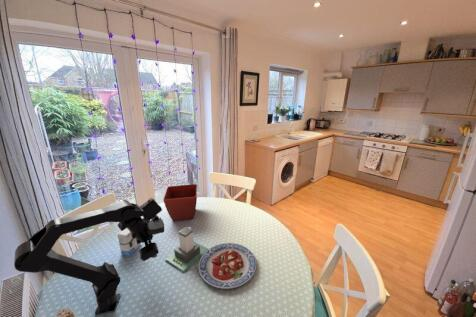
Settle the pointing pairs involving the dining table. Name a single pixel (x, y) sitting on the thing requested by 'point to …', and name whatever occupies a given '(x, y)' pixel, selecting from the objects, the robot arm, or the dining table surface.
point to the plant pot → (181, 201)
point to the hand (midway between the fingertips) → (153, 247)
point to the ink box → (127, 242)
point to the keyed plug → (186, 240)
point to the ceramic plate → (227, 265)
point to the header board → (186, 257)
